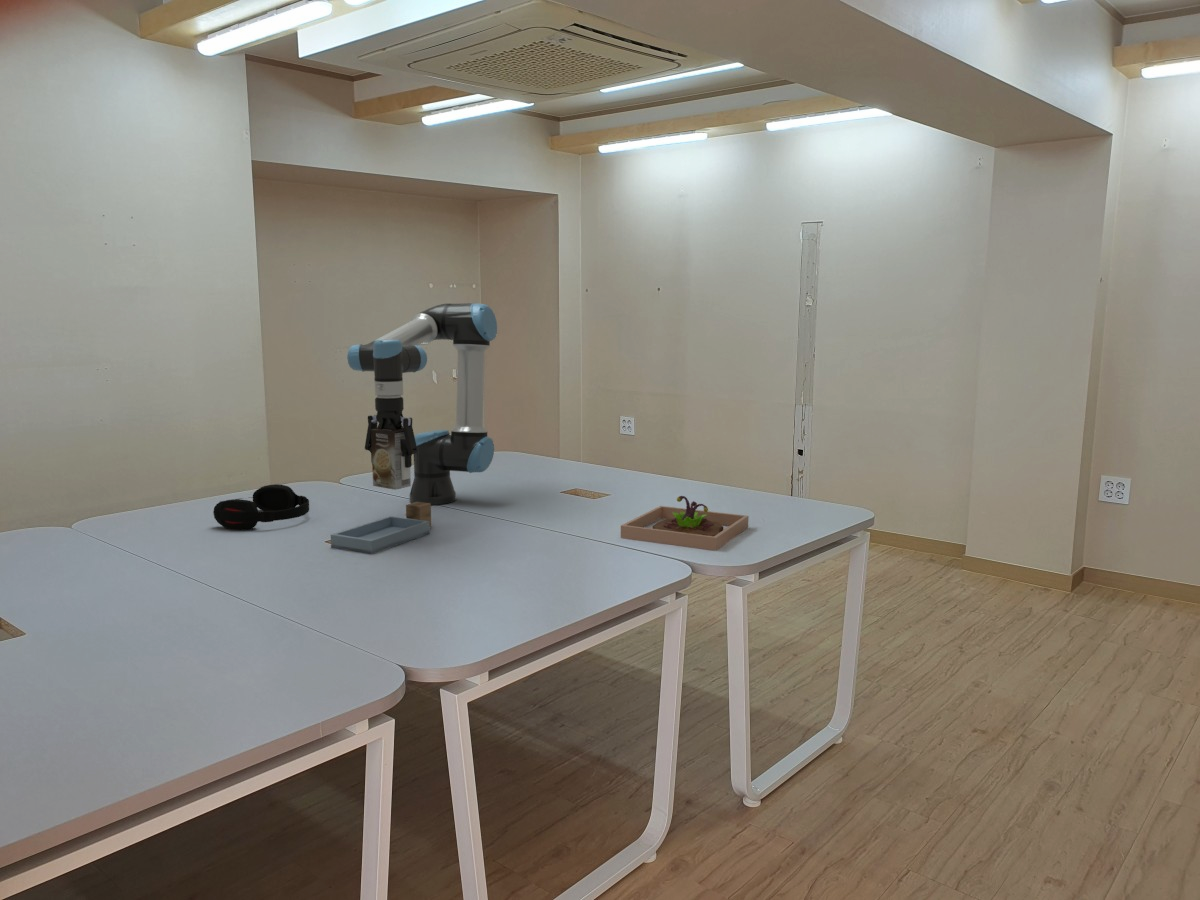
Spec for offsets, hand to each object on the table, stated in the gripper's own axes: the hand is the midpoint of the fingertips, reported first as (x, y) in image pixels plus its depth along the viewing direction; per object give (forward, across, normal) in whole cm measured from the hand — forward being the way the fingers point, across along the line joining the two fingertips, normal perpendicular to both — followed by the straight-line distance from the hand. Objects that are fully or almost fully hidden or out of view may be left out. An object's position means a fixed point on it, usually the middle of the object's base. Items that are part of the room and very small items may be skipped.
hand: (391, 477), depth 242 cm
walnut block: (+17, 0, +11) cm, 20 cm away
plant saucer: (+17, +71, +42) cm, 84 cm away
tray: (+17, 0, -5) cm, 17 cm away
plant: (+17, +72, +42) cm, 85 cm away
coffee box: (+3, 0, 0) cm, 3 cm away
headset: (+17, -48, -3) cm, 51 cm away
